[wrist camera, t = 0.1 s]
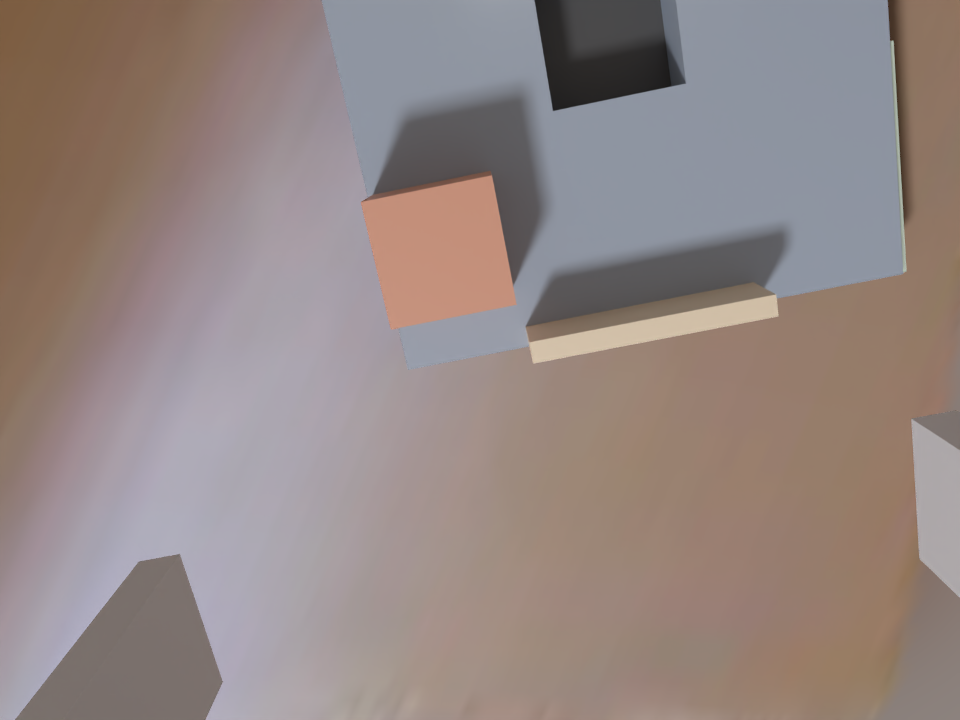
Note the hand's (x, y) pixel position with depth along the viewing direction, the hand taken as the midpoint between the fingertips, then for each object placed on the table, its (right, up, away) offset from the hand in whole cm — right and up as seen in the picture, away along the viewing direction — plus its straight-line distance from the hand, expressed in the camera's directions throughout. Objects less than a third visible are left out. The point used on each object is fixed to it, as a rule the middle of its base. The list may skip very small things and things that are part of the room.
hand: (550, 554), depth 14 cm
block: (-3, +9, +23) cm, 25 cm away
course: (+5, +15, +25) cm, 29 cm away
